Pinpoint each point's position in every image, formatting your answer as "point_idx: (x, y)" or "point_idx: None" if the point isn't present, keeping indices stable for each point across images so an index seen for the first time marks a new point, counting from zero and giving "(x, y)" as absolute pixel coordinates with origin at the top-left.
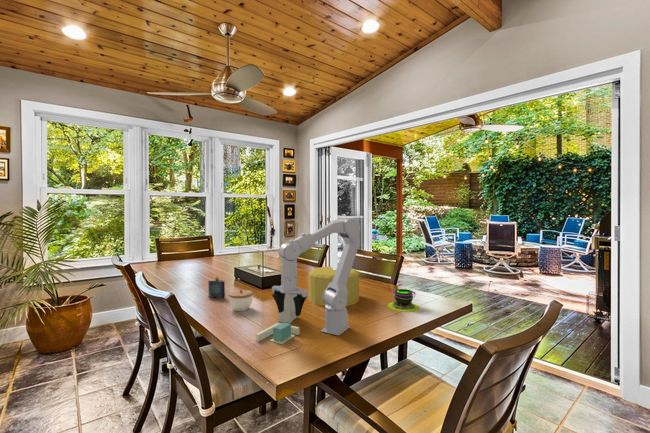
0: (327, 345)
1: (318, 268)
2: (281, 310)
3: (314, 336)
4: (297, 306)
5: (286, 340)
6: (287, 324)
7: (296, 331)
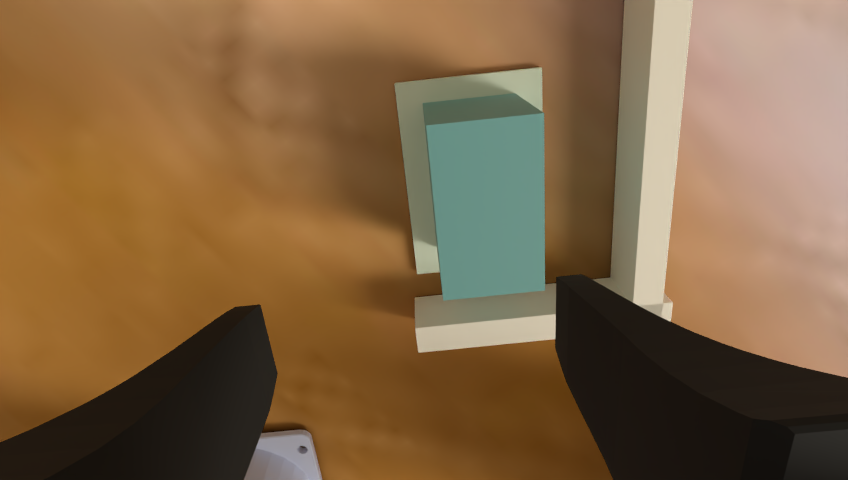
0: (89, 285)
1: None
2: (562, 318)
3: (289, 348)
4: (111, 394)
5: (404, 155)
6: (465, 270)
7: (426, 310)
